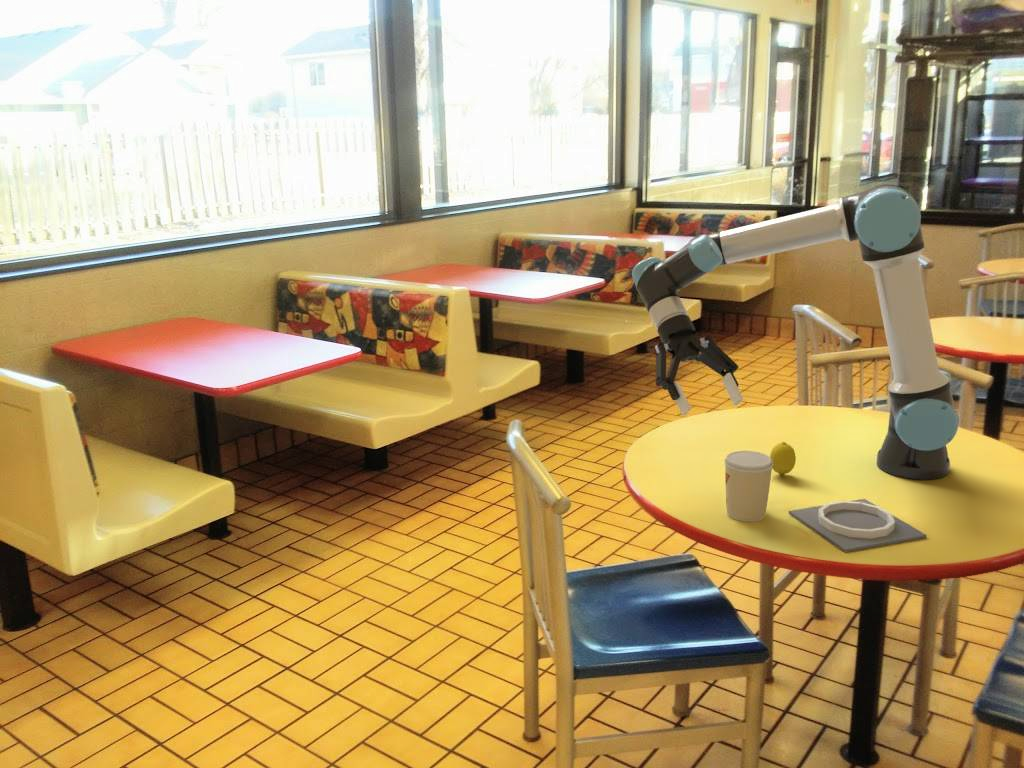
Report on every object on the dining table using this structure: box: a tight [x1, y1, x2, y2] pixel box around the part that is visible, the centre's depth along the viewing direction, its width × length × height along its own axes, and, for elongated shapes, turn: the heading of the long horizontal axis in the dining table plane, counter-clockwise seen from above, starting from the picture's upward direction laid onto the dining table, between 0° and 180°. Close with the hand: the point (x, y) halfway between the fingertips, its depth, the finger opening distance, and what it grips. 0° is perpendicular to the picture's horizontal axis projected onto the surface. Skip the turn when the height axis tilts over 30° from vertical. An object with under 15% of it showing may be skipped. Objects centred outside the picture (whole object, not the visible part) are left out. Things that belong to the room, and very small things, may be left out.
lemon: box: [769, 441, 797, 477], centre depth 199 cm, size 6×6×8 cm
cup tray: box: [788, 498, 927, 553], centre depth 175 cm, size 18×18×2 cm
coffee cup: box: [724, 450, 773, 523], centre depth 180 cm, size 9×9×12 cm
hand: (713, 407), depth 185 cm, fingers open, 13 cm apart
